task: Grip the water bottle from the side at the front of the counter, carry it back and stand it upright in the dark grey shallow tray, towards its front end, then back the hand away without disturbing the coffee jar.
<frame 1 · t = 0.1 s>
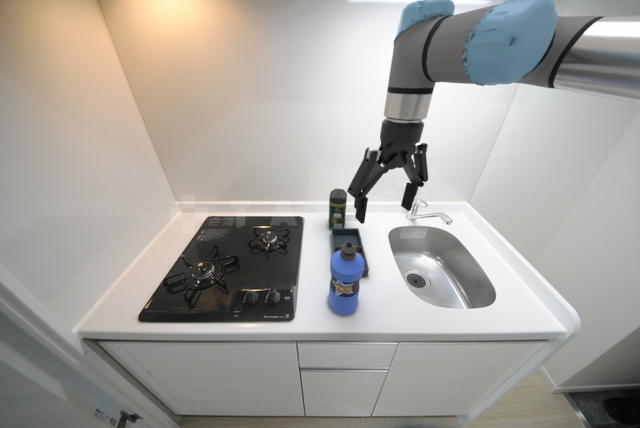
hand: (383, 214, 51), 34 cm above the worktop, tool pointing down, fingers open, 13 cm apart
coffee jar: (336, 225, 103), on the worktop
water bottle: (342, 302, 68), on the worktop
dark grey shallow tray: (347, 253, 86), on the worktop
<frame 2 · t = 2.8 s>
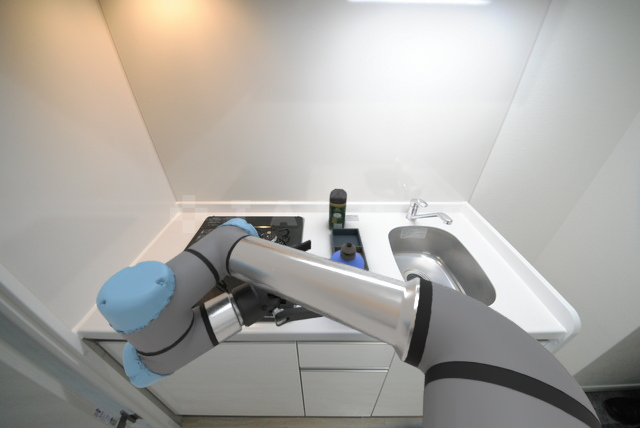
hand: (326, 260, 50), 25 cm above the worktop, tool horizontal, fingers open, 13 cm apart
nothing on the worktop moved.
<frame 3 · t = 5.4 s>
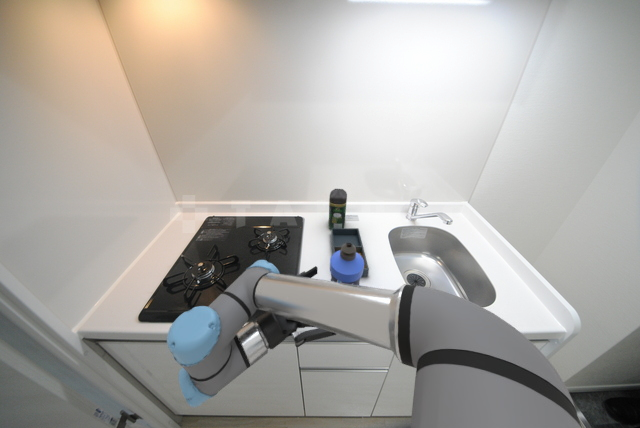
hand: (332, 284, 58), 13 cm above the worktop, tool horizontal, fingers open, 13 cm apart
nothing on the worktop moved.
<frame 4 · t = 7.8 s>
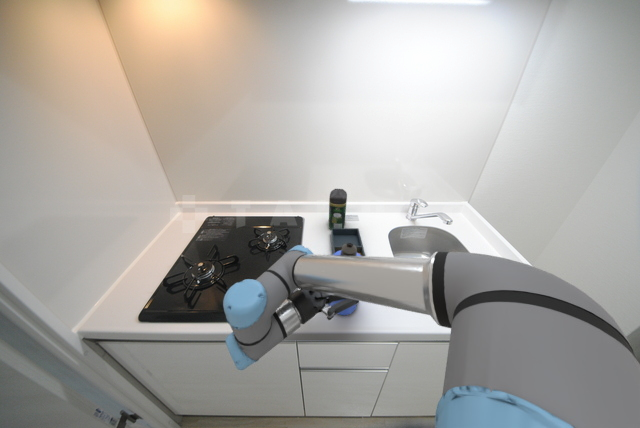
hand: (356, 266, 63), 14 cm above the worktop, tool horizontal, fingers closed on water bottle, 9 cm apart
water bottle: (342, 302, 68), on the worktop, touching gripper
everything else where it was.
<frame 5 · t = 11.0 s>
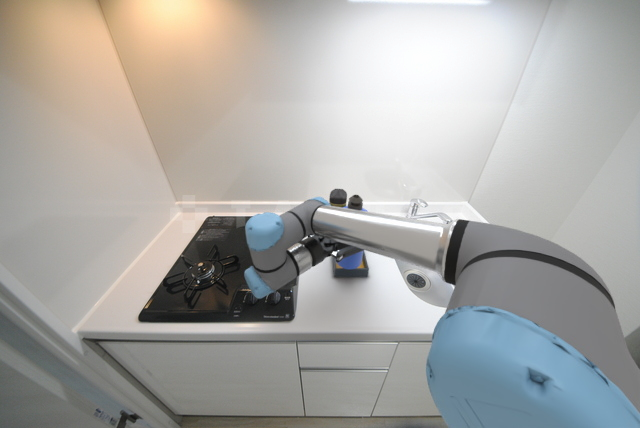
hand: (361, 222, 67), 22 cm above the worktop, tool horizontal, fingers closed on water bottle, 9 cm apart
water bottle: (348, 259, 72), point 8 cm above the worktop, touching gripper
everything else where it was.
when the fingers open (14 cm above the worktop, at t = 14.3 s): water bottle stays where it is, resting on dark grey shallow tray.
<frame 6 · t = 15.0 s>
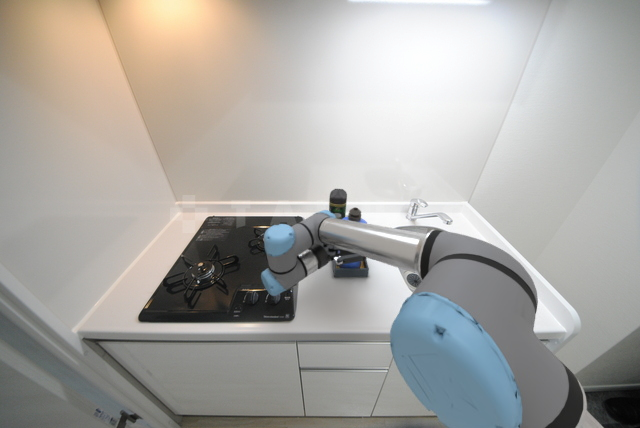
hand: (358, 231, 75), 15 cm above the worktop, tool horizontal, fingers open, 13 cm apart
water bottle: (349, 263, 81), point 1 cm above the worktop, touching dark grey shallow tray
everything else where it was.
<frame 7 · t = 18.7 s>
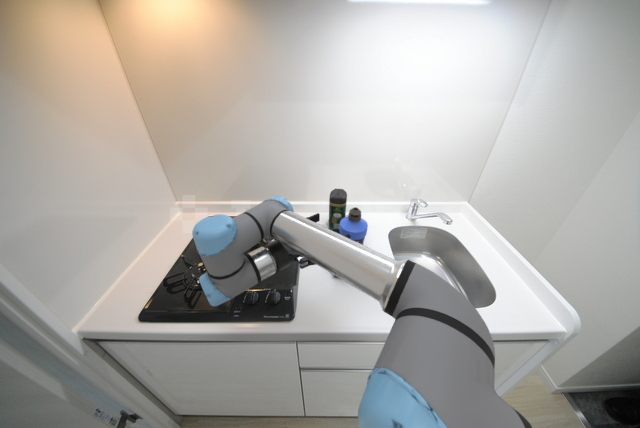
hand: (333, 226, 63), 23 cm above the worktop, tool horizontal, fingers open, 13 cm apart
nothing on the worktop moved.
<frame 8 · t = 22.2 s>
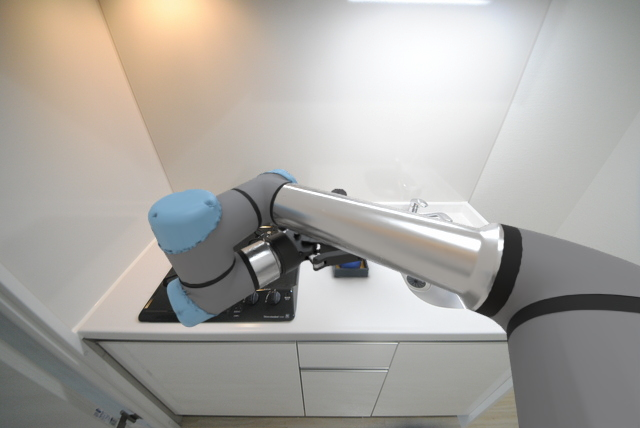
hand: (352, 216, 49), 34 cm above the worktop, tool horizontal, fingers open, 13 cm apart
nothing on the worktop moved.
at the end: water bottle 0.0 cm from the target spot in the dark grey shallow tray, point 0.6 cm above the dark grey shallow tray's base; water bottle tilted 0°; coffee jar moved 0.2 cm from its start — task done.
